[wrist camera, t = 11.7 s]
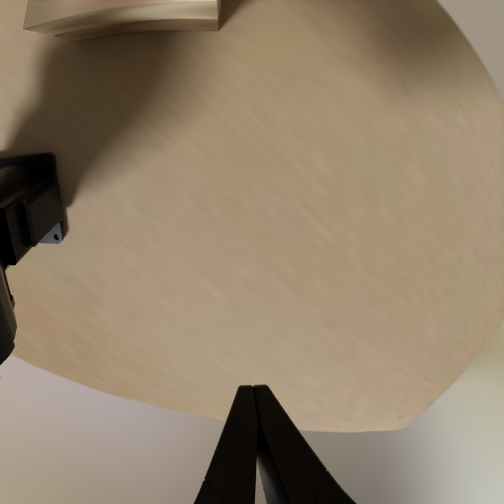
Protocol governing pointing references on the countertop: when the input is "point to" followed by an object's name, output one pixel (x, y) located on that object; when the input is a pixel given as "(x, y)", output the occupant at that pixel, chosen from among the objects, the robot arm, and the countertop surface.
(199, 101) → the countertop surface
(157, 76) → the countertop surface
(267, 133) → the countertop surface
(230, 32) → the countertop surface
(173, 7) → the beige stepped block
